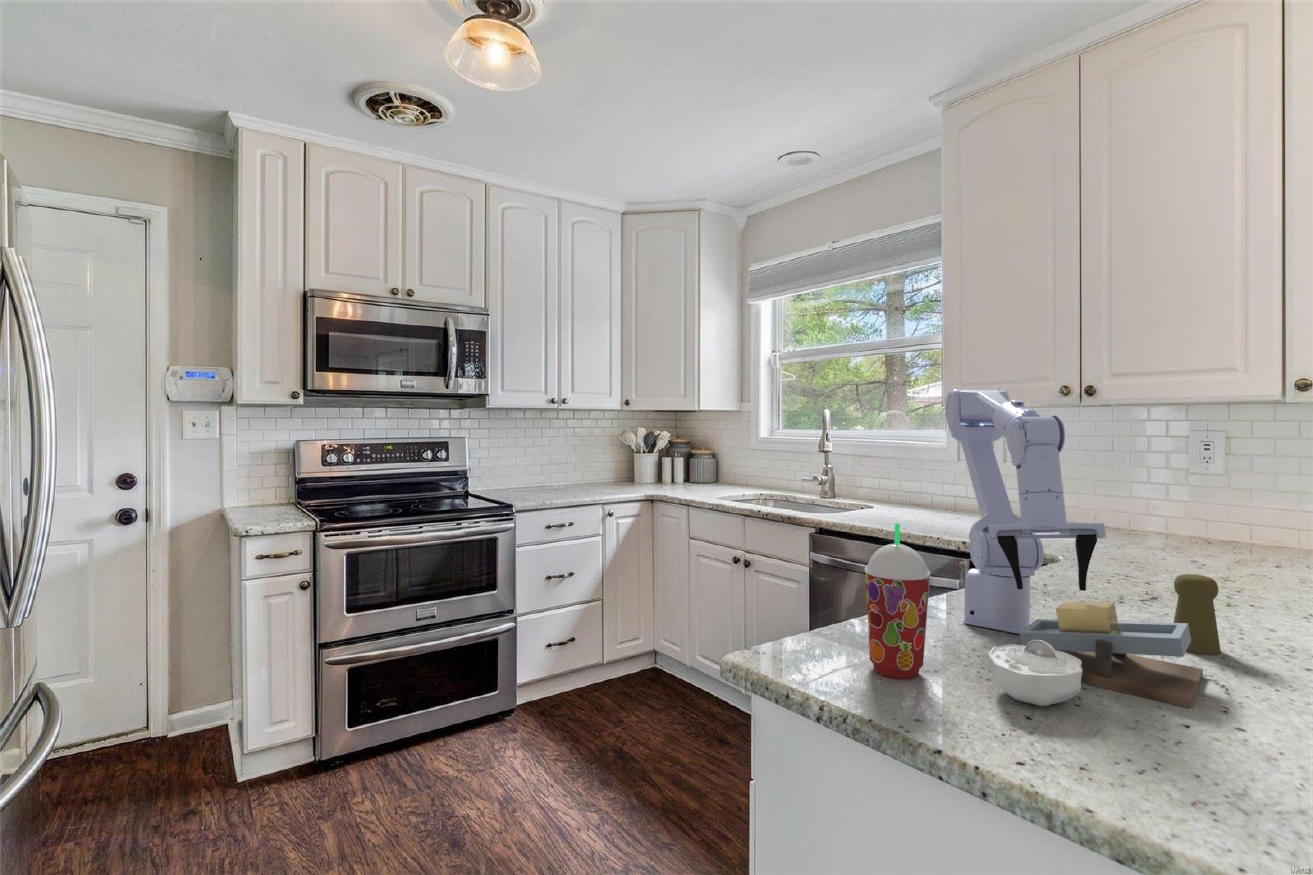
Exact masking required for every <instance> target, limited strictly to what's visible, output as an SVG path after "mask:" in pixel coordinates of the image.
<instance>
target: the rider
mask: <svg viewBox="0 0 1313 875" xmlns="http://www.w3.org/2000/svg"><path fill="white" fill-rule="evenodd" d="M1055 613H1056V618H1057V619H1056V620H1058V625H1059V630H1060V632H1080V633H1107V634H1118V633H1119V632H1120V631H1119V626H1118V622H1119V621H1118V615H1117V611H1116V606H1115V602H1114V601H1109V602H1107V601H1064V602H1062V603H1061V604H1060V605H1058V606H1057V607H1056V608H1055Z"/></svg>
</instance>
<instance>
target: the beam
mask: <svg viewBox="0 0 1313 875" xmlns="http://www.w3.org/2000/svg"><path fill="white" fill-rule="evenodd" d="M1118 626H1119V631H1120V632H1119V633H1118V634H1107V633H1080V632H1060V630H1059V625H1058V619H1040V618H1039V619H1038V618H1037V619H1036V620H1034V622H1033V623H1031V624H1030V625H1028V626H1027V627H1026V628H1024V629H1023V630H1022V631H1020V632H1019V633H1020V634H1019V638H1020V645H1024V646H1026V645H1027V644H1028V643H1029V642H1030V641H1033V640H1042V641H1045V642H1047V643H1048V644H1050V645H1051V646H1052V647H1053V648H1054V650H1066V651H1084V652H1095V649H1096V640H1102V641H1107V642H1112V653H1121V654H1130V655H1138V656H1139V655H1141V656H1143V655H1145V656H1157V657H1159V656H1160V657H1175V658H1176V657H1177V658H1179V657H1180V658H1184V657H1185V654H1186V653H1187V652H1186V650H1187V648H1188V646H1189V644H1190V642H1191V636H1190V631H1189V626H1188V623H1174V622H1155V621H1154V622H1152V621H1151V622H1149V621H1148V622H1147V621H1118Z"/></svg>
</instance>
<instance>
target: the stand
mask: <svg viewBox="0 0 1313 875" xmlns="http://www.w3.org/2000/svg"><path fill="white" fill-rule="evenodd" d="M1057 651H1062V652H1065V653H1068V654H1070V655H1072V656H1075V657H1077V658H1078V659H1080V660H1081V661H1082V664H1081V668H1082V670H1083V671H1082V677H1081V684H1085V685H1090V686H1094V687H1098V688H1103V689H1107V690H1111V691H1116V692H1120V693H1124V694H1129V695H1132V696H1137V697H1142V698H1146V699H1150V700H1154V701H1159V702H1162V703H1166V704H1170V705H1171V704H1172V705H1176V706H1180V707H1185V708H1188V709H1192V707H1193V704H1194V700H1195V698H1196V695H1197V693H1198V690H1199V687H1200V686H1201V685H1200V684H1201V682H1202V680H1203V676H1204V674H1203V673H1204V669H1203V668H1200V667H1196V666H1190V665H1185V664H1181V663H1176V662H1175V663H1174V662H1169V661H1165V660H1159V659H1154V658H1149V657H1145V656H1144V657H1143V656H1139V655H1136V654H1121V653H1112V642H1107V641H1102V640H1096V649H1095V652H1084V651H1066V650H1057Z"/></svg>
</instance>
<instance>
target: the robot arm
mask: <svg viewBox="0 0 1313 875" xmlns="http://www.w3.org/2000/svg"><path fill="white" fill-rule="evenodd" d="M945 417H946V422H947V425H948V429H949V432H950V434H951V437H952V438H953V439H954V440H956V441H958V442H960V444H961V448H962V450H963V451H962V452H963V454H964V459H965V461H966V465H967V469H968V473H969V476H970V480H971V484H972V487H973V491H974V492H973V493H974V494H975V499H976V502H977V505H978V509H979V513H980V518H979V519H978V520H976V521H975V522H974V523H973V524H972V526H971V528H970V530H969V535H968V539H969V553H970V554H969V555H970V560H971V561H972V563H973V565H974V566H975V567H976V568H970V569H969V570H968V572H967V574H966V577H965V581H964V611H963V612H964V615H963V616H964V619H963V620H962V623H963V624H966V625H972V626H977V627H982V628H987V629H991V630H998V631H1002V632H1006V633H1013V634H1017V635H1020V633H1019V632H1020V631H1022V630H1023V629H1024V628H1026V627H1027V626H1028V625H1030V624H1031V623H1033V622H1034V621H1035V620H1034V621H1033V620H1031V577H1032V576H1035V575H1036V574H1035V572H1037V571H1038V570H1039V569H1040V567H1041V566H1042V565H1043V562H1044V557H1045V556H1044V555H1045V554H1044V546H1043V543H1042V540H1041V539H1075V544H1074V547H1075V552H1076V559H1077V568H1078V569H1077V570H1078V571H1077V572H1078V588H1079V590H1078V591H1084V592H1085V591H1087V577H1088V570H1089V567H1090V566H1089V565H1090V562H1091V559H1092V557H1093V556H1092V555H1093V553H1094V550H1095V548H1096V545H1097V542H1098V539H1105V538H1106V537H1107V535H1106V527H1105V523H1103V522H1099V523H1098V522H1097V523H1095V522H1093V523H1092V522H1090V523H1089V522H1088V523H1087V522H1086V523H1085V522H1067V515H1066V506H1065V505H1066V504H1065V496H1064V485H1063V478H1062V469H1061V468H1062V467H1061V461H1060V460H1061V459H1060V453H1061V451H1062V450H1063V449H1064V448H1063V447H1064V444H1065V441H1066V430H1065V426H1064V422H1063V420H1062V419H1061V418H1060V417H1059V416H1058V415H1056V414H1052V415H1048V416H1042V415H1041V414H1039V413H1038V412H1037V411H1036V410H1035V409H1033V408H1030V407H1029V406H1026V405H1025V401H1023V400H1021V399H1011V401H1010V396H1009V394H1008V391H1007V390H1005V389H1004V388H998V389H956V388H952V389H951V390H949V392H948V393H947V396H946V399H945ZM1003 437H1004V438H1006V440H1005V441H1006V446H1007V449H1008V451H1009V453H1010V457H1011V463H1012V466H1014V467H1015V468H1016V479H1017V480H1016V481H1017V489H1018V490H1017V491H1018V499H1019V501H1018V502H1019V509H1020V516H1019V515H1017V514H1015V513H1013V509H1012V506H1011V501H1010V499H1009V496H1008V492H1007V489H1006V487H1005V483H1004V480H1003V476H1002V474H1001V470H1000V467H999V464H998V460H997V457H996V454H995V451H994V447H993V443H995V442H996V441H998V440H1000V439H1001V438H1003ZM1045 533H1046V534H1045ZM1050 533H1052V534H1050ZM1054 533H1059V534H1054Z"/></svg>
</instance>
